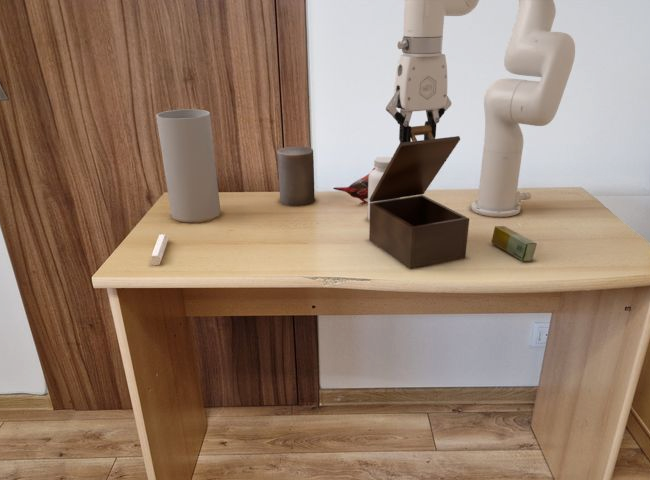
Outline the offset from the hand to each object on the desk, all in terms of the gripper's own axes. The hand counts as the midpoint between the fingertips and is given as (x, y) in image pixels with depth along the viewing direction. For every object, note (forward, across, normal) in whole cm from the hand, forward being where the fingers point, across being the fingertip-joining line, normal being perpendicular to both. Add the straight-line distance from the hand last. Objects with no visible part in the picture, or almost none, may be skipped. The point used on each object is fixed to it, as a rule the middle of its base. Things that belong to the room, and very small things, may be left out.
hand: (417, 143), depth 129 cm
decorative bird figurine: (+23, +3, +32) cm, 40 cm away
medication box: (+23, +18, -13) cm, 32 cm away
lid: (+6, 0, +1) cm, 6 cm away
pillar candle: (+23, -11, +43) cm, 50 cm away
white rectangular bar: (+23, -52, +22) cm, 61 cm away
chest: (+23, 0, -2) cm, 23 cm away
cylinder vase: (+23, -39, +44) cm, 63 cm away
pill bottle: (+23, +3, +19) cm, 30 cm away
